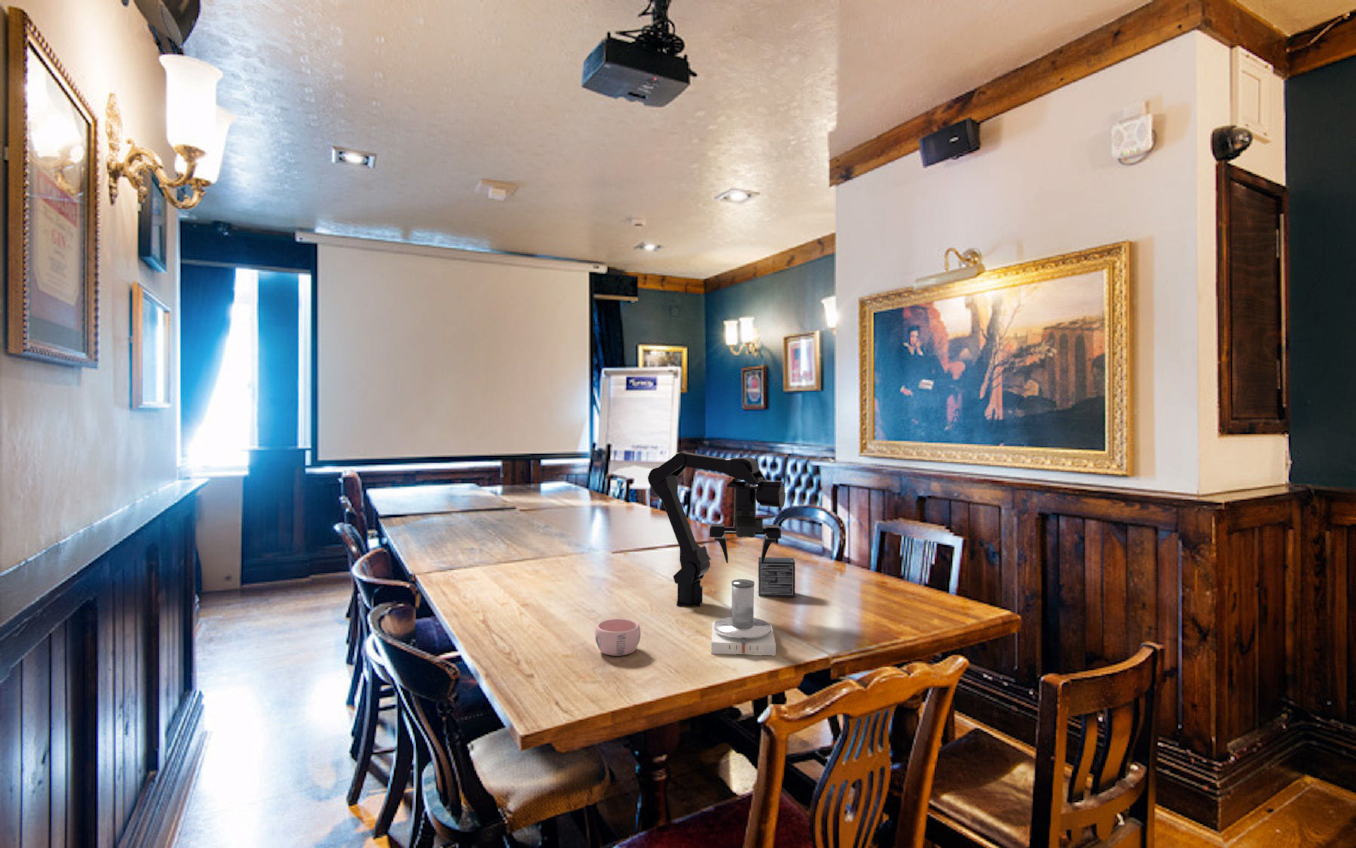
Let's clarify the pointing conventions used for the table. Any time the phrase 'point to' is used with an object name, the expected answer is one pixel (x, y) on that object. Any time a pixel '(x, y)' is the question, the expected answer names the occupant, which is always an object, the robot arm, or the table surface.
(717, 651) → the base
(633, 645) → the mug
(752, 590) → the steel weight
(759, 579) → the small box
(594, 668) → the table surface
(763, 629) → the scale pan
